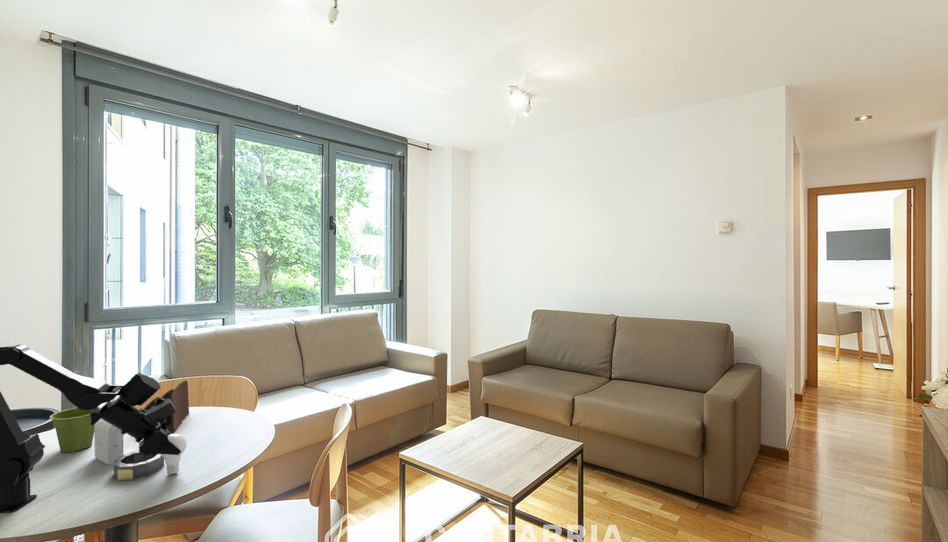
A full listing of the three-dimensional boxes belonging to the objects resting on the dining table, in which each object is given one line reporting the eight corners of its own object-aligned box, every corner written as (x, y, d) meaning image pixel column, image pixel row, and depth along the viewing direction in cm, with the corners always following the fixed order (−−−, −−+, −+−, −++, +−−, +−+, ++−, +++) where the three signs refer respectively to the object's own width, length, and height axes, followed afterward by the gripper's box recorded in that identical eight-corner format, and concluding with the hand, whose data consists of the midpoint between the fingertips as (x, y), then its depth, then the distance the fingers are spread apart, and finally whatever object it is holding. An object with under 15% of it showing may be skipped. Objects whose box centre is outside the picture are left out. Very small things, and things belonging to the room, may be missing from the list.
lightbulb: (161, 471, 121) (161, 432, 120) (188, 466, 123) (188, 428, 123) (156, 481, 115) (155, 440, 115) (184, 476, 118) (184, 436, 117)
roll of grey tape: (148, 479, 116) (147, 466, 116) (102, 482, 114) (101, 469, 114) (171, 459, 128) (171, 447, 128) (130, 461, 126) (129, 449, 126)
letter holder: (189, 414, 165) (188, 377, 165) (174, 433, 147) (173, 392, 146) (158, 417, 162) (157, 379, 161) (138, 437, 143) (137, 395, 143)
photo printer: (126, 460, 127) (125, 418, 126) (108, 466, 123) (107, 423, 123) (110, 452, 132) (109, 412, 131) (92, 458, 128) (91, 416, 128)
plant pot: (105, 447, 135) (104, 411, 135) (52, 460, 127) (51, 422, 126) (98, 436, 143) (98, 403, 143) (48, 448, 134) (47, 412, 134)
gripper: (155, 401, 109) (207, 434, 116) (153, 384, 123) (199, 414, 130) (115, 440, 104) (171, 472, 111) (117, 417, 119) (167, 447, 126)
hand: (178, 448), depth 120 cm, fingers closed on lightbulb, 6 cm apart
